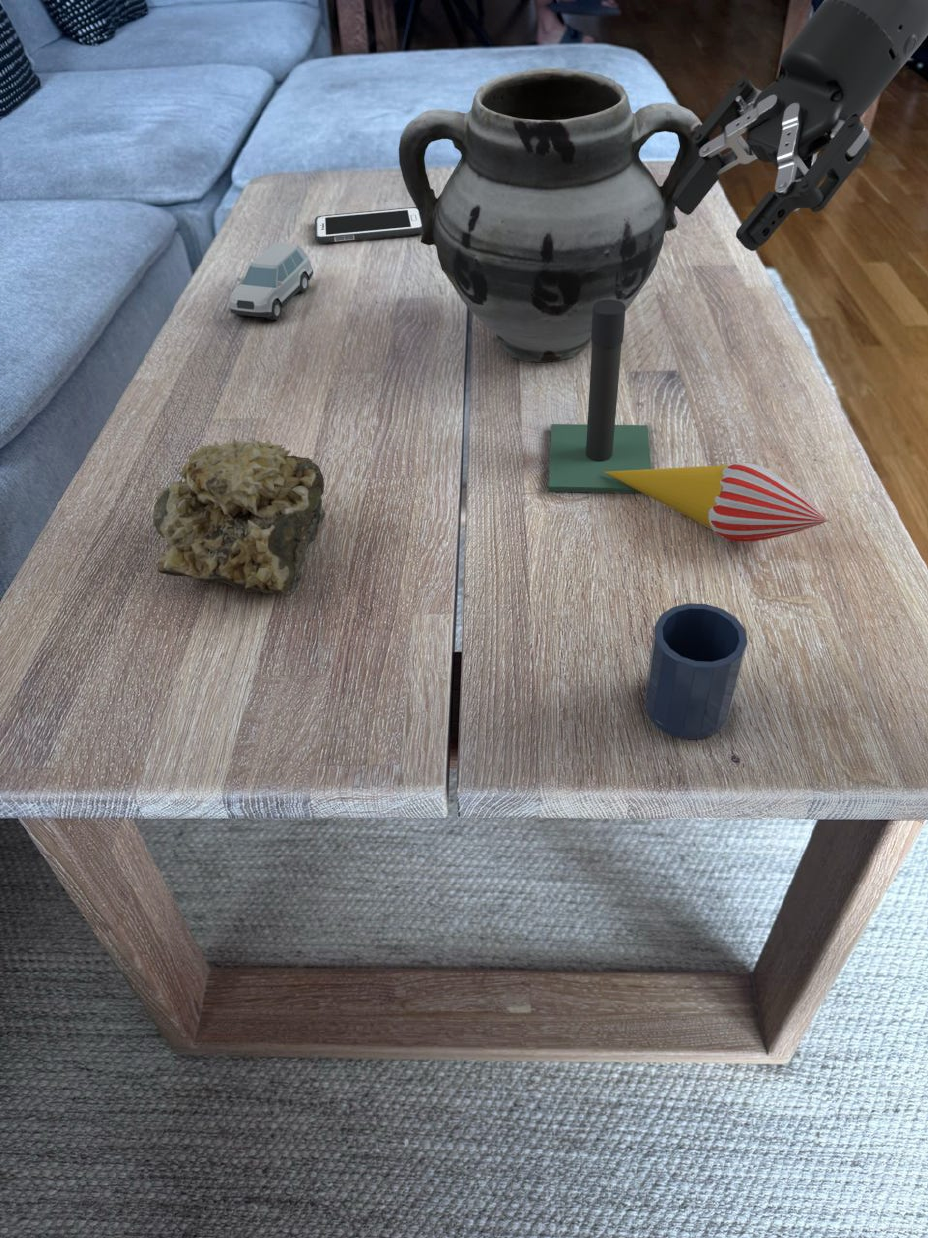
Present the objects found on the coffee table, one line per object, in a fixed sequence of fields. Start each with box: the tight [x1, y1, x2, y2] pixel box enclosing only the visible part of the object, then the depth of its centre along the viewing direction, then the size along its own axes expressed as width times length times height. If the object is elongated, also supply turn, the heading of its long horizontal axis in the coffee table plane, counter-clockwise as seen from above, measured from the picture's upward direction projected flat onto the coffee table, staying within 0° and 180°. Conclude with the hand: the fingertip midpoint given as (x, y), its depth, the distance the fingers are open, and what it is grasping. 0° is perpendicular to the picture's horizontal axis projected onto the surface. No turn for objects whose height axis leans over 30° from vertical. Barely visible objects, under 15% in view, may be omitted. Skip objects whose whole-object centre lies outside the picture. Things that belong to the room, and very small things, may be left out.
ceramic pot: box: [398, 67, 703, 363], centre depth 90 cm, size 29×23×25 cm
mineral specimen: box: [152, 438, 326, 597], centre depth 71 cm, size 14×13×10 cm
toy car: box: [229, 242, 314, 321], centre depth 107 cm, size 6×13×5 cm, turn 162°
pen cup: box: [644, 603, 749, 740], centre depth 59 cm, size 6×6×7 cm
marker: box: [586, 300, 627, 461], centre depth 77 cm, size 3×3×14 cm
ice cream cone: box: [604, 462, 829, 543], centre depth 74 cm, size 6×6×20 cm
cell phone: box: [314, 206, 422, 244], centre depth 123 cm, size 8×15×1 cm, turn 97°
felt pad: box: [547, 423, 652, 494], centre depth 82 cm, size 9×10×1 cm
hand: (710, 225), depth 71 cm, fingers open, 8 cm apart
